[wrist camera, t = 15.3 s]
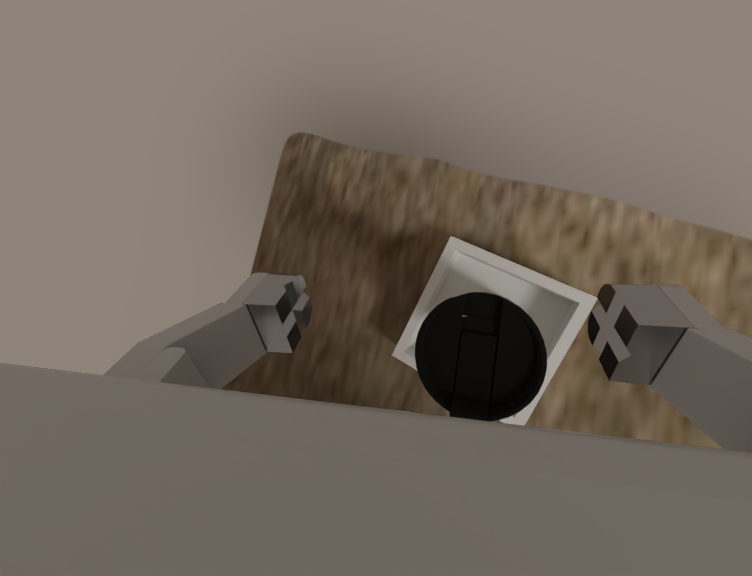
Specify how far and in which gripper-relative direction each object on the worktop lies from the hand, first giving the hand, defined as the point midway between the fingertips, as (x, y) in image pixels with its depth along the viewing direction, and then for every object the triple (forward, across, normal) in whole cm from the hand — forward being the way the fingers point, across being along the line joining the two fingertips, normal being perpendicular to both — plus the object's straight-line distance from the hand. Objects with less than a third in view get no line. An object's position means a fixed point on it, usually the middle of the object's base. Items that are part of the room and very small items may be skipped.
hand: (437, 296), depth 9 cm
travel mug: (+19, -5, +18) cm, 27 cm away
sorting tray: (+20, -5, +19) cm, 28 cm away
